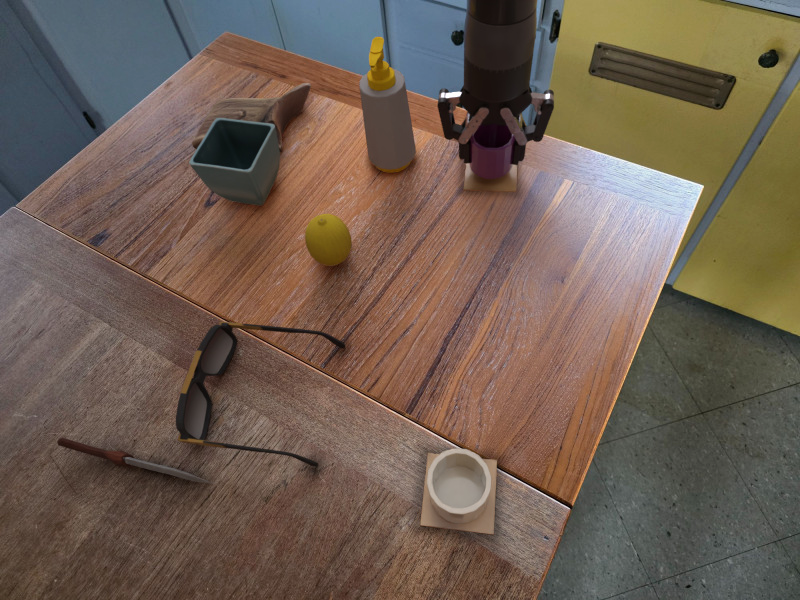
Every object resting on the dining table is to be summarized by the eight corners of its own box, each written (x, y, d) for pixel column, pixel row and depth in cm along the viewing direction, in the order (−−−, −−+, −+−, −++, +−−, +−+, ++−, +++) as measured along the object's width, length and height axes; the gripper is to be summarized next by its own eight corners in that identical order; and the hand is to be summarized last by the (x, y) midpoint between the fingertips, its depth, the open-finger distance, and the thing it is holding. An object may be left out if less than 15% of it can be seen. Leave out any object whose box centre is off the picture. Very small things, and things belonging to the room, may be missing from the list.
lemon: (305, 261, 71) (288, 221, 64) (336, 235, 73) (324, 194, 66) (333, 285, 69) (319, 246, 62) (365, 257, 70) (355, 217, 64)
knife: (222, 478, 57) (211, 471, 55) (216, 493, 57) (205, 487, 54) (73, 440, 61) (56, 431, 59) (66, 453, 60) (48, 445, 58)
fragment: (228, 104, 91) (216, 76, 87) (319, 104, 88) (311, 75, 84) (197, 157, 84) (182, 130, 80) (295, 159, 80) (284, 131, 76)
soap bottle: (365, 176, 78) (342, 64, 63) (373, 141, 81) (352, 27, 66) (413, 177, 77) (402, 64, 62) (419, 142, 80) (409, 26, 65)
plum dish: (513, 148, 76) (516, 119, 71) (512, 179, 73) (515, 151, 68) (470, 147, 76) (471, 118, 72) (467, 178, 73) (468, 150, 69)
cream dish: (490, 465, 55) (492, 451, 51) (487, 527, 52) (489, 517, 48) (432, 459, 56) (430, 445, 52) (426, 519, 53) (423, 509, 49)
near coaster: (496, 460, 56) (497, 460, 55) (493, 534, 52) (493, 534, 52) (427, 453, 57) (427, 452, 57) (420, 525, 53) (420, 525, 53)
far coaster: (517, 154, 77) (517, 153, 77) (516, 192, 74) (516, 190, 74) (467, 153, 78) (467, 151, 78) (463, 190, 75) (463, 188, 75)
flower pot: (293, 172, 80) (275, 123, 72) (271, 219, 75) (250, 172, 68) (238, 165, 81) (215, 116, 74) (213, 210, 77) (186, 163, 70)
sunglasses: (318, 467, 57) (307, 454, 53) (183, 448, 59) (162, 434, 55) (346, 347, 64) (338, 326, 60) (224, 334, 66) (208, 314, 62)
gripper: (429, 67, 59) (435, 178, 73) (568, 68, 57) (546, 182, 71) (435, 25, 63) (440, 139, 77) (566, 24, 61) (546, 141, 75)
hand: (491, 159), depth 74 cm, fingers closed on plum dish, 6 cm apart
